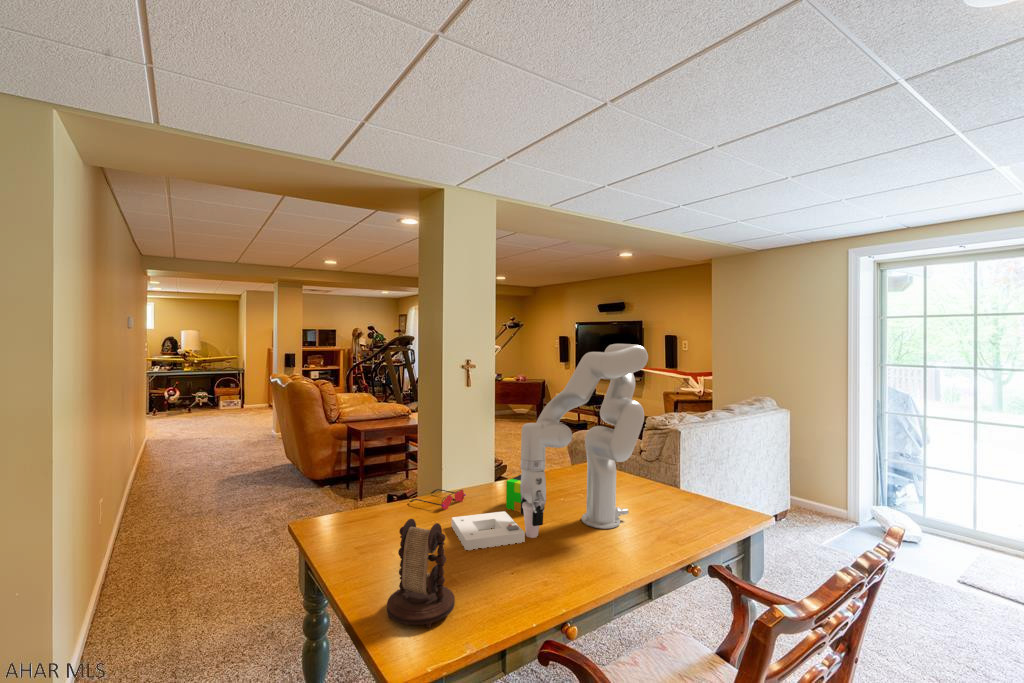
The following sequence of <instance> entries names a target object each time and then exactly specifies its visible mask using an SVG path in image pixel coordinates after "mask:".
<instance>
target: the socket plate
mask: <svg viewBox="0 0 1024 683" xmlns="http://www.w3.org/2000/svg"><path fill="white" fill-rule="evenodd" d="M451 528H452V529H453V531H455V532H454V533H455V535H456V537H457V536H458V537H457V538H458V540H459V542H460V541H461V542H460V543H461V545H462V546H464V547H463V548H464V550H465V551H466V550H468V551H472V550H473V549H475V550H479V549H478V548H482V549H488V548H487V547H489V548H495V546H496V547H502V546H501V545H503V546H509V545H508V544H510V545H515V543H517V544H523V543H522V542H524V543H525V542H526V540H525V537H526V531H525V530H523V528H521V527H520V526H519V525H518V523H517V522H516V521H514V519H513V518H512V517H511V515H509V514H508V513H507V512H506V510H505V511H495V512H487V513H479V514H470V515H463V516H462V515H461V516H454V517H451ZM491 528H492V529H491Z"/></svg>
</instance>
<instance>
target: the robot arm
mask: <svg viewBox="0 0 1024 683" xmlns="http://www.w3.org/2000/svg"><path fill="white" fill-rule="evenodd" d="M648 361H649V354H648V352H647V349H646V348H645V347H644V346H642V345H639V344H631V343H613V344H609V345H608V346H607V347H606V348H605V350H604V351H588V352H586V353H585V354H584V355H583V356H581V359H580V361H579V362H578V364H577V366H576V368H575V370H574V371H573V373H572V375H571V376H570V379H569V380H568V382H567V383H566V386H564V388H563V389H562V390H561V391H560V392H559V393H558V394H556V395H555V396H554V397H552V398H551V400H549V402H547V404H546V405H545V406H544V408H542V411H541V413H540V415H538V417H537V419H536V422H527V423H524V424H523V425H522V427H521V437H520V439H521V442H520V443H521V444H520V445H521V446H520V470H521V474H520V475H521V484H520V488H521V493H520V494H521V512H520V514H521V515H523V516H524V511H523V508H522V504H523V503H524V502H526V501H528V502H529V503H530V504H532V505H533V509H534V512H533V522H532V525H533V526H539V527H540V526H543V525H544V512H545V506H546V502H547V484H546V482H547V481H546V472H545V470H546V448H556V449H560V448H561V449H562V448H565V447H567V446H569V445H570V443H571V442H572V441H573V432H572V429H571V428H570V427H569V426H568V425H566V424H565V423H561V422H560V420H562V418H563V417H564V416H565V415H566V413H567V414H568V412H569V411H571V410H573V409H575V408H578V407H581V406H583V405H586V404H587V403H588V402H589V401H590V399H591V397H592V396H593V394H594V392H595V390H596V388H597V385H598V384H599V383H600V381H601V379H603V380H609V381H610V382H609V385H608V388H607V391H606V393H605V396H604V399H603V401H602V403H601V406H600V410H599V416H600V419H601V420H602V421H603V422H604V423H606V424H609V425H612V426H614V428H610V427H607V426H605V425H604V426H603V425H595V426H593V427H590V428H589V429H588V431H587V432H586V433H585V438H584V447H585V452H586V462H587V463H586V467H587V468H586V470H587V471H586V510H585V511H586V512H585V513H583V514H582V516H581V521H582V523H583V524H585V525H586V526H589V527H592V528H595V529H601V530H603V529H613V528H614V529H615V528H617V527H619V526H620V524H621V519H620V517H621V516H624V515H629V509H628V508H627V507H625V508H621V507H620V506H616V505H617V504H616V503H617V499H616V498H617V496H616V495H617V493H616V492H617V465H616V464H617V463H622V462H625V461H627V460H629V459H630V458H631V456H632V454H633V452H634V450H635V447H636V444H637V443H638V439H639V437H640V434H641V431H642V429H643V426H644V425H643V424H644V422H645V411H644V407H643V406H642V405H641V403H640V402H638V401H636V400H635V399H632V398H633V396H634V393H635V389H636V378H635V375H634V373H636V372H639V371H641V370H642V369H644V368H645V367H646V366H647V363H648ZM616 462H617V463H616ZM534 501H538V502H534ZM536 505H539V506H538V507H537V508H536Z"/></svg>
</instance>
